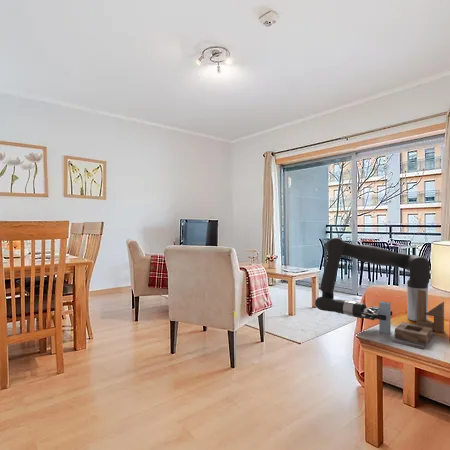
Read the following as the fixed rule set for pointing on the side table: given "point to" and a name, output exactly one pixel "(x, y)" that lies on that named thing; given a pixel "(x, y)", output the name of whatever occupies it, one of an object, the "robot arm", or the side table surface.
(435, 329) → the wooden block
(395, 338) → the wooden socket base
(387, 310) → the rectangular block
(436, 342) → the side table surface
